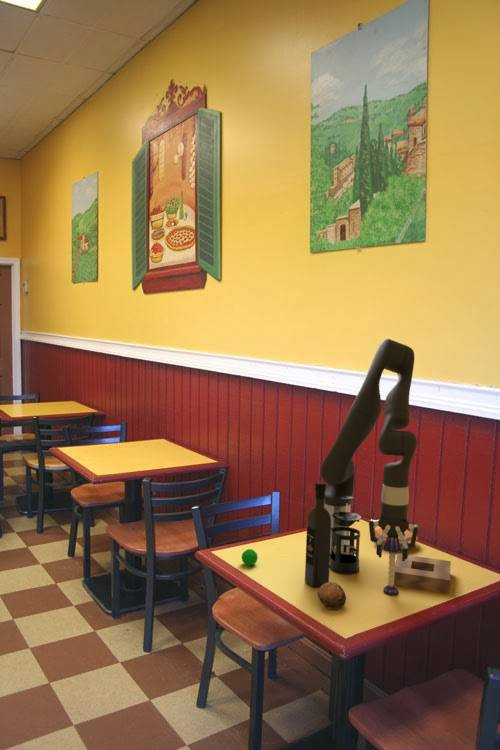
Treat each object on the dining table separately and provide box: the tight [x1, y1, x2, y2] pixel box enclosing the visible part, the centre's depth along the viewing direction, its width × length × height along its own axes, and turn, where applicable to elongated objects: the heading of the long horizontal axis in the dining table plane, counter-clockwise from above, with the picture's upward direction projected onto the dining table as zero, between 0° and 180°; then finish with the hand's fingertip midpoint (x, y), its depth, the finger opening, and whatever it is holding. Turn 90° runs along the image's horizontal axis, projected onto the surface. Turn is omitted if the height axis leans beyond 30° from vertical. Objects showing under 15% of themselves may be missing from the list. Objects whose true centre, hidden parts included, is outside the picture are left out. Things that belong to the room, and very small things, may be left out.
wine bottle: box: [304, 481, 331, 588], centre depth 179 cm, size 6×6×30 cm
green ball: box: [241, 548, 259, 566], centre depth 193 cm, size 5×5×5 cm
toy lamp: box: [382, 536, 402, 596], centre depth 175 cm, size 5×5×17 cm
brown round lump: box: [317, 581, 347, 611], centre depth 166 cm, size 8×8×6 cm
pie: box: [375, 527, 419, 551], centre depth 216 cm, size 16×16×5 cm
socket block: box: [394, 553, 452, 595], centre depth 186 cm, size 16×16×4 cm
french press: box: [329, 496, 362, 575], centre depth 192 cm, size 12×9×23 cm
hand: (391, 558), depth 175 cm, fingers open, 6 cm apart
